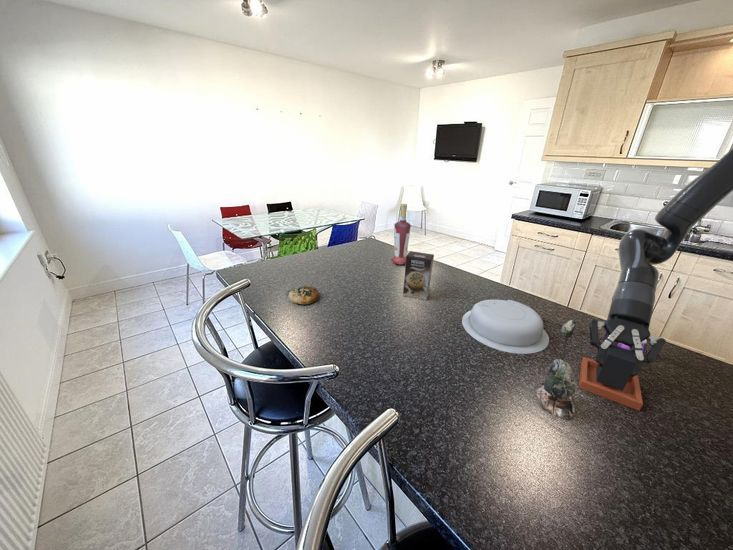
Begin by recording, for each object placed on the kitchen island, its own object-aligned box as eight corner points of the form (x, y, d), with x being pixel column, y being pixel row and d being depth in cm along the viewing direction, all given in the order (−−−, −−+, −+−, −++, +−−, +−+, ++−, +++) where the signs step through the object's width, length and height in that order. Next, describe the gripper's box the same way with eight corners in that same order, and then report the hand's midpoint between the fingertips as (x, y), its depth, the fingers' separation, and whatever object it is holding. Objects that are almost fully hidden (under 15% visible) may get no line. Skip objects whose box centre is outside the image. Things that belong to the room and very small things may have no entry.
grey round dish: (492, 359, 78) (497, 340, 76) (447, 311, 100) (450, 295, 98) (569, 347, 83) (576, 329, 81) (511, 304, 106) (515, 289, 103)
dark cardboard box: (402, 296, 110) (405, 255, 103) (406, 289, 115) (409, 250, 109) (426, 300, 107) (431, 259, 100) (429, 293, 112) (434, 253, 106)
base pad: (634, 381, 72) (637, 374, 71) (639, 411, 64) (643, 404, 63) (580, 362, 78) (583, 356, 77) (579, 387, 69) (581, 381, 69)
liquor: (408, 266, 137) (413, 206, 125) (392, 266, 137) (396, 205, 125) (406, 260, 144) (411, 202, 132) (391, 260, 143) (394, 202, 132)
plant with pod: (523, 406, 64) (547, 330, 56) (542, 381, 71) (567, 310, 63) (564, 431, 59) (599, 351, 50) (581, 402, 66) (614, 326, 57)
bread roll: (321, 290, 112) (320, 279, 109) (316, 309, 102) (315, 297, 100) (293, 290, 112) (291, 279, 109) (285, 309, 103) (282, 297, 100)
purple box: (607, 329, 80) (650, 339, 76) (602, 326, 85) (642, 335, 81) (600, 352, 81) (642, 363, 77) (596, 348, 86) (635, 358, 82)
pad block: (621, 378, 71) (634, 351, 67) (622, 391, 67) (636, 363, 64) (596, 369, 73) (607, 343, 70) (596, 381, 70) (608, 354, 66)
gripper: (599, 290, 72) (581, 355, 68) (679, 308, 64) (665, 383, 60) (592, 300, 78) (575, 361, 74) (665, 318, 70) (650, 387, 66)
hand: (615, 370), depth 67 cm, fingers closed on pad block, 5 cm apart
